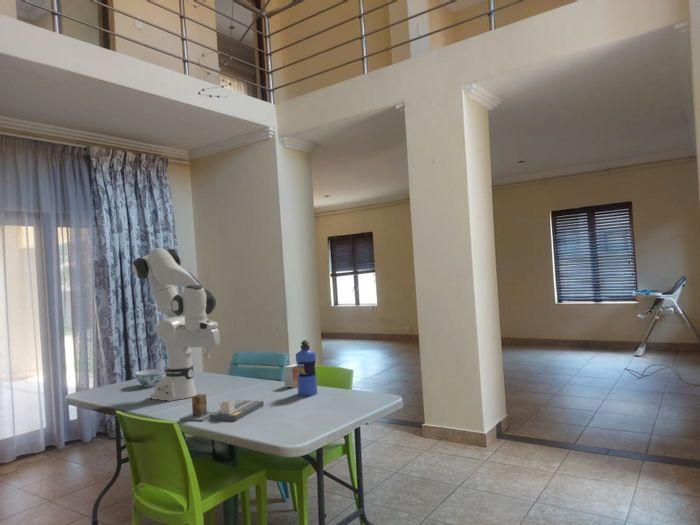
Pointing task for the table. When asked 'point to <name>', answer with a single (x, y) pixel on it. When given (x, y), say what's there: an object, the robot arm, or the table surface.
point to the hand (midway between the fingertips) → (197, 357)
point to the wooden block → (199, 405)
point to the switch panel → (238, 410)
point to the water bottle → (306, 370)
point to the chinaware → (149, 377)
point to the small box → (290, 375)
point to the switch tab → (227, 406)
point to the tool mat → (194, 418)
